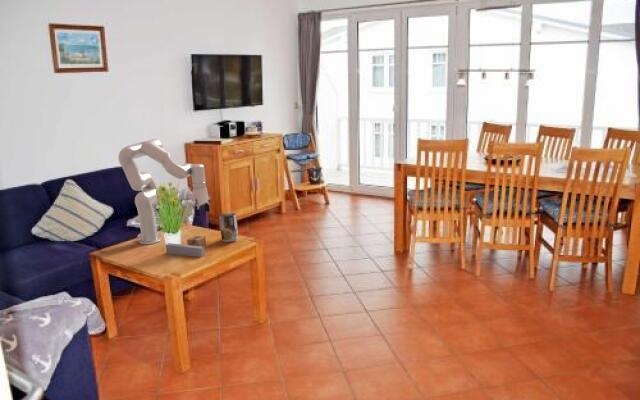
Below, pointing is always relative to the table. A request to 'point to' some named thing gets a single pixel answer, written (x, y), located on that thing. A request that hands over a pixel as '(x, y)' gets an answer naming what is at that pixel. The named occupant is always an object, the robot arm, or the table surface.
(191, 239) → the walnut block
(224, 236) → the coffee box
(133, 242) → the table surface
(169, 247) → the slate rail
